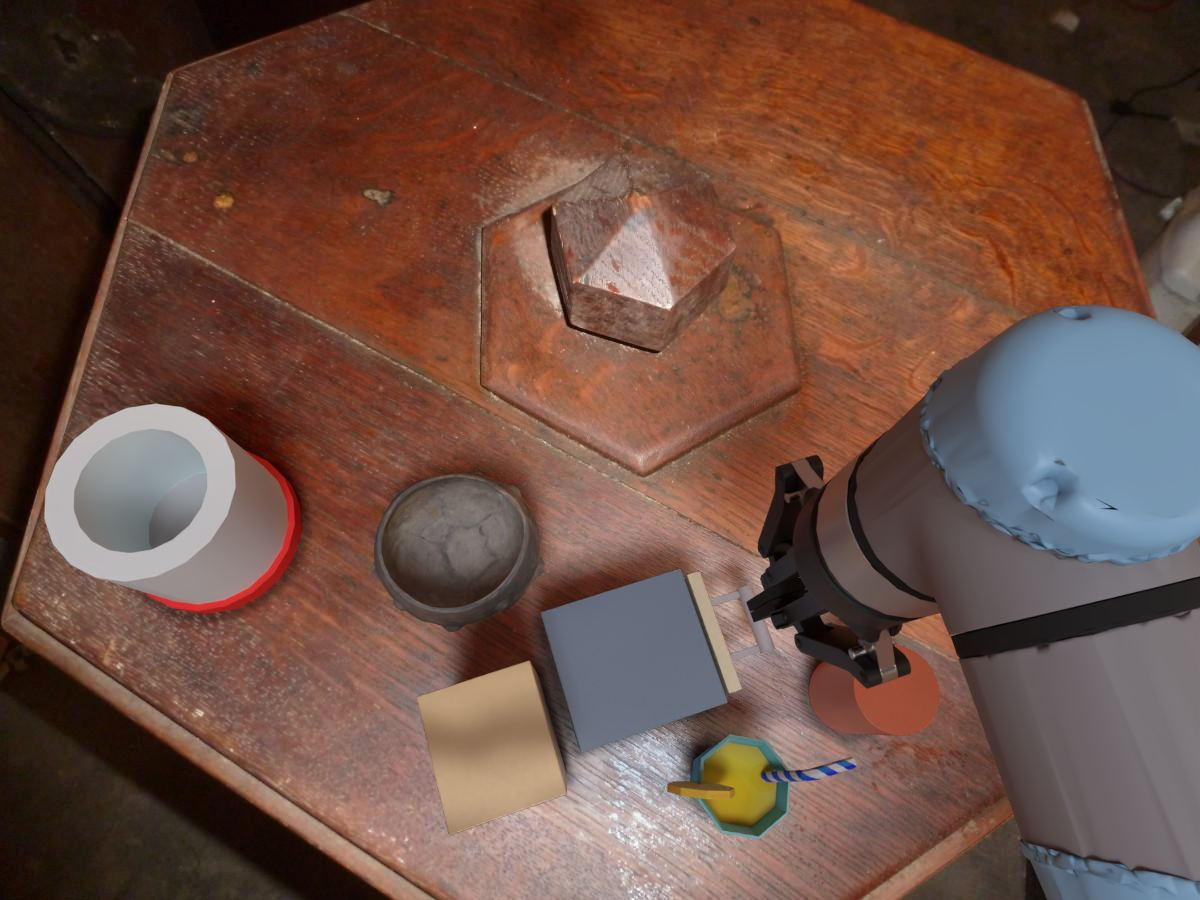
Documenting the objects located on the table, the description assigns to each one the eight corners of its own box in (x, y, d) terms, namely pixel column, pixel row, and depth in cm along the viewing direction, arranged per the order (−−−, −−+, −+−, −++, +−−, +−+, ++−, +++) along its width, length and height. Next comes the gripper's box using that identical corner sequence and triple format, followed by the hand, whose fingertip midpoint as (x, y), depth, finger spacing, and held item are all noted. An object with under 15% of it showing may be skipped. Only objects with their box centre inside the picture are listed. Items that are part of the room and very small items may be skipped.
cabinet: (666, 586, 76) (680, 567, 67) (707, 704, 72) (728, 702, 63) (543, 625, 74) (540, 612, 65) (579, 748, 71) (581, 753, 61)
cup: (787, 711, 72) (841, 709, 58) (813, 799, 70) (877, 819, 56) (643, 749, 71) (663, 756, 57) (665, 840, 68) (692, 871, 54)
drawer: (731, 570, 76) (749, 554, 68) (770, 676, 72) (794, 671, 65) (573, 621, 73) (574, 610, 66) (606, 732, 70) (611, 733, 63)
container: (147, 455, 78) (57, 398, 64) (309, 452, 79) (254, 395, 65) (120, 616, 73) (15, 592, 59) (293, 611, 73) (230, 587, 60)
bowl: (565, 592, 75) (565, 573, 66) (416, 663, 72) (393, 655, 63) (507, 468, 79) (499, 434, 70) (363, 531, 76) (335, 505, 67)
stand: (566, 774, 70) (567, 794, 51) (480, 804, 69) (448, 836, 50) (538, 675, 72) (529, 659, 54) (455, 702, 71) (416, 696, 52)
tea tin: (894, 718, 73) (955, 718, 61) (826, 744, 72) (875, 748, 60) (863, 646, 75) (916, 632, 63) (797, 669, 74) (839, 660, 62)
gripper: (1037, 652, 33) (848, 678, 56) (908, 385, 37) (780, 510, 60) (880, 707, 32) (752, 712, 55) (765, 427, 36) (689, 538, 59)
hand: (766, 606), depth 57 cm, fingers closed
